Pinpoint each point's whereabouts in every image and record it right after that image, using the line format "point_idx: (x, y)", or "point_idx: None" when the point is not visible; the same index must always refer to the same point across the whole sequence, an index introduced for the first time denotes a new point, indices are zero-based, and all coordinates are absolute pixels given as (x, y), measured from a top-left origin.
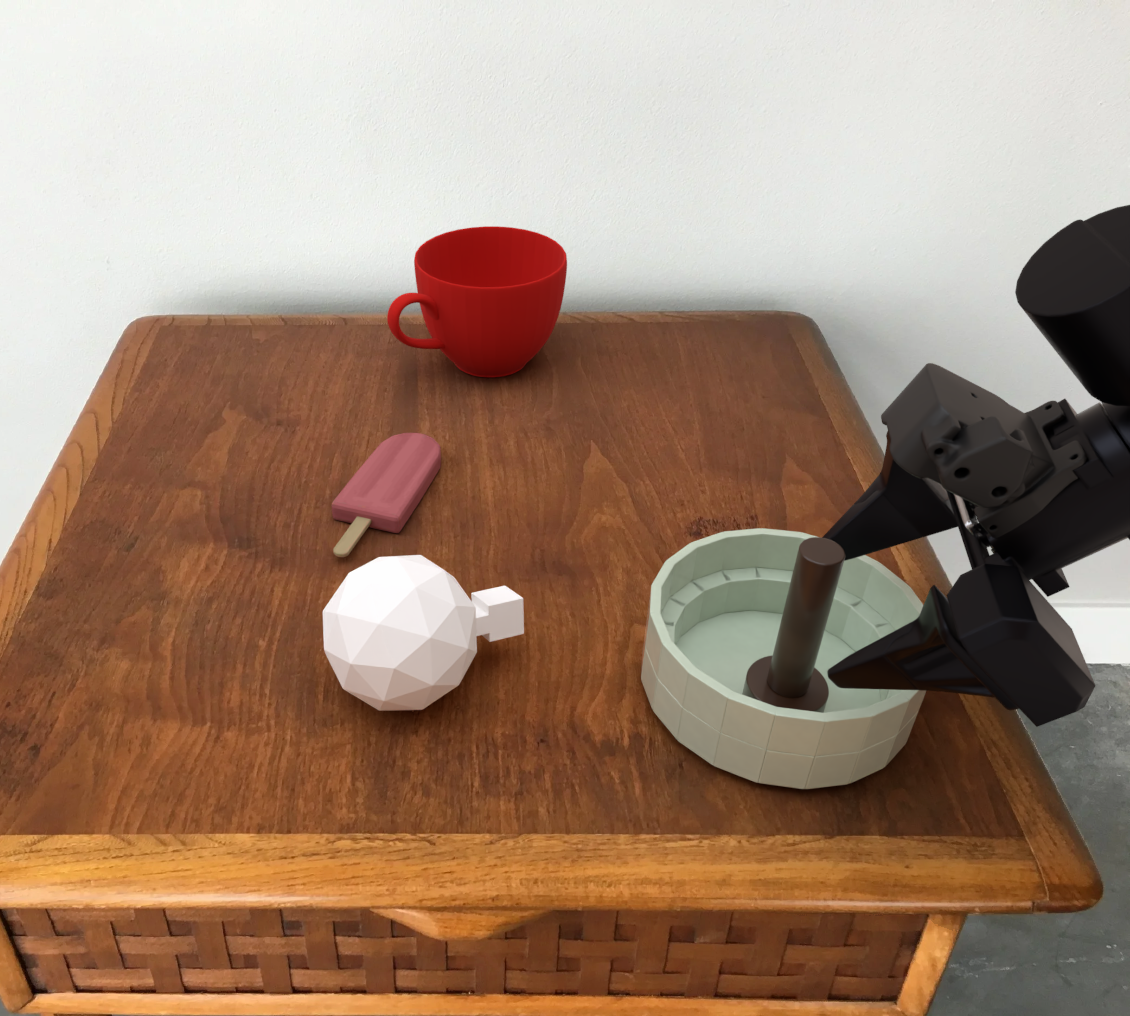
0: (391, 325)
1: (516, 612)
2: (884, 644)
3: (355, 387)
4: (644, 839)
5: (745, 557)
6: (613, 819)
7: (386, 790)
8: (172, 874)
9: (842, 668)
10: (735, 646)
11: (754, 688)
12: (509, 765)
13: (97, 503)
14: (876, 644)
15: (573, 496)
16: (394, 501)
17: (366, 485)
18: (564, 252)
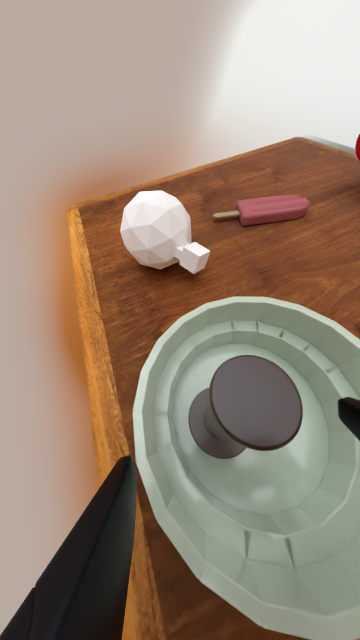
0: (358, 137)
1: (193, 260)
2: (55, 588)
3: (321, 180)
4: (108, 367)
5: (334, 353)
6: (117, 350)
7: (112, 275)
8: (72, 247)
9: (107, 478)
10: None
11: (202, 394)
12: (135, 304)
13: (201, 173)
14: (76, 558)
15: (329, 264)
16: (253, 212)
17: (255, 202)
18: None
